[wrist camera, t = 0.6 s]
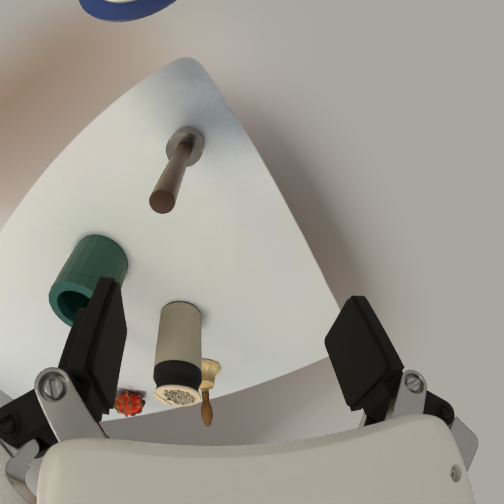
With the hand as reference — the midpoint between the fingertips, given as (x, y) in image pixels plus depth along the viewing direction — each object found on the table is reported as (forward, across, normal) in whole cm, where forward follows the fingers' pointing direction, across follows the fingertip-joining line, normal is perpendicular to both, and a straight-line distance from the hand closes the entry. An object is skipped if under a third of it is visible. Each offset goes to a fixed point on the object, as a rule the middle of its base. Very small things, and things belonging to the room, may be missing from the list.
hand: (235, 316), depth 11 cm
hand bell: (+30, -3, +52) cm, 60 cm away
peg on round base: (+30, +4, 0) cm, 30 cm away
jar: (+30, +18, +21) cm, 40 cm away
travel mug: (+30, +3, +32) cm, 44 cm away
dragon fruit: (+30, +18, +71) cm, 79 cm away
